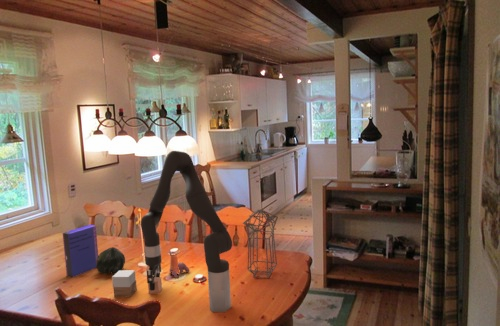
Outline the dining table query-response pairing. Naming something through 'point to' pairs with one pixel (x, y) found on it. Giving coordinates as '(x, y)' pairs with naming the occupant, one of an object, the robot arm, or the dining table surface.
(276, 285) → the dining table surface
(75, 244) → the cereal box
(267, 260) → the geometric lantern
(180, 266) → the video game controller
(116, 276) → the tower top
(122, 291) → the tower bottom
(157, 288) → the beige block
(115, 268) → the squash
